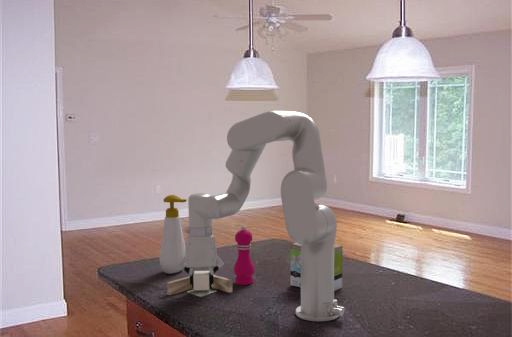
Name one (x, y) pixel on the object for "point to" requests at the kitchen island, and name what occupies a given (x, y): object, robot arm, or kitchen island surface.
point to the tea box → (296, 265)
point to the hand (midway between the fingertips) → (201, 285)
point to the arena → (184, 285)
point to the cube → (201, 280)
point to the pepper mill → (244, 258)
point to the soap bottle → (172, 238)
